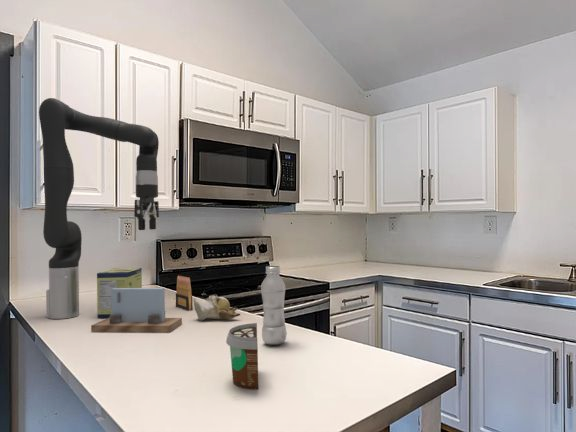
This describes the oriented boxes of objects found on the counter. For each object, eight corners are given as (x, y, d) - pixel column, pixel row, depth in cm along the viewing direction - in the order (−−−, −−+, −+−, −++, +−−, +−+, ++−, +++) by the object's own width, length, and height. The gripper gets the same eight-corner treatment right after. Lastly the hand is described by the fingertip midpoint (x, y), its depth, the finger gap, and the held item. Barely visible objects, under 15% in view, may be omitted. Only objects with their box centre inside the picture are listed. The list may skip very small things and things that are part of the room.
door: (110, 322, 126) (110, 289, 126) (115, 320, 129) (114, 288, 129) (161, 322, 124) (160, 289, 124) (164, 320, 127) (164, 287, 127)
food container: (228, 370, 89) (227, 323, 89) (257, 369, 89) (256, 322, 89) (224, 394, 76) (223, 339, 76) (258, 392, 77) (257, 338, 77)
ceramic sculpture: (194, 290, 141) (238, 291, 144) (192, 316, 141) (237, 316, 144) (193, 296, 130) (241, 296, 134) (192, 324, 130) (240, 323, 133)
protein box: (142, 308, 156) (142, 267, 156) (127, 318, 141) (127, 272, 141) (114, 309, 156) (114, 267, 156) (96, 319, 140) (96, 272, 140)
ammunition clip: (192, 310, 152) (192, 277, 152) (188, 311, 150) (187, 277, 151) (180, 306, 160) (179, 274, 160) (175, 306, 159) (175, 275, 159)
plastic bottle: (290, 341, 109) (288, 265, 110) (281, 348, 103) (280, 268, 103) (267, 339, 112) (266, 264, 112) (257, 346, 105) (256, 267, 105)
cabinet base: (91, 332, 123) (91, 316, 123) (109, 323, 133) (109, 309, 133) (169, 332, 120) (169, 317, 121) (181, 324, 130) (181, 309, 130)
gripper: (145, 186, 155) (146, 229, 155) (126, 182, 141) (127, 230, 141) (165, 185, 155) (165, 229, 154) (147, 182, 140) (148, 230, 140)
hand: (147, 229), depth 148 cm, fingers open, 8 cm apart
